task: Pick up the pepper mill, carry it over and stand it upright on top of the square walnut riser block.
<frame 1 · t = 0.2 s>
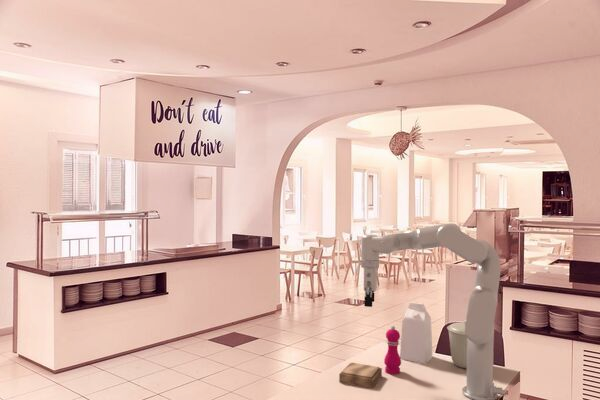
hand: (369, 303, 199), 30 cm above the table, fingers open, 9 cm apart
riser: (360, 379, 195), on the table
pepper mill: (392, 372, 203), on the table
canister: (467, 365, 212), on the table
milk: (416, 358, 222), on the table
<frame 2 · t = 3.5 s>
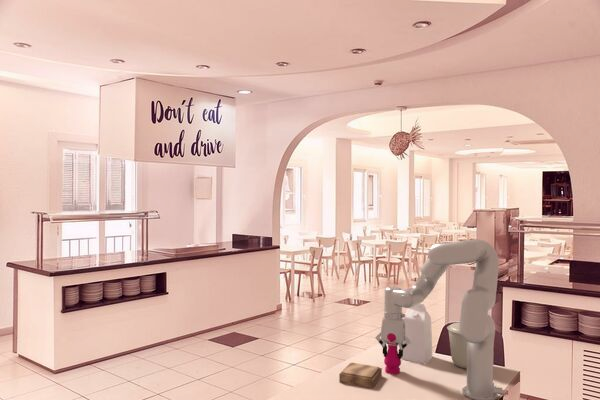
hand: (392, 356, 203), 7 cm above the table, fingers closed on pepper mill, 5 cm apart
pepper mill: (392, 372, 203), on the table, touching gripper
everything else where it was.
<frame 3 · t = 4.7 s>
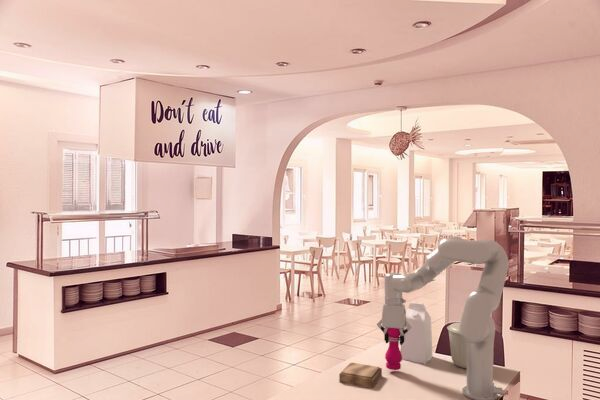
hand: (394, 342, 203), 13 cm above the table, fingers closed on pepper mill, 5 cm apart
pepper mill: (393, 368, 203), point 2 cm above the table, touching gripper
everything else where it was.
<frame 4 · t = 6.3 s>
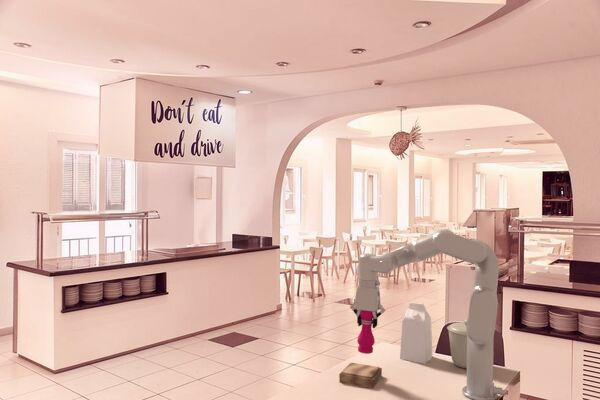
hand: (367, 326, 196), 22 cm above the table, fingers closed on pepper mill, 5 cm apart
pepper mill: (365, 351, 197), point 11 cm above the table, touching gripper
everything else where it was.
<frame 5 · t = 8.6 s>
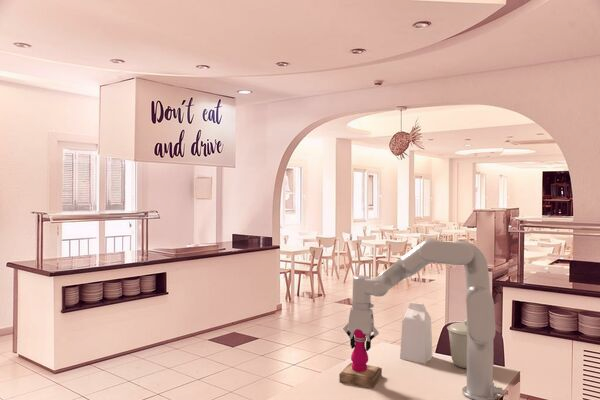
hand: (360, 348, 195), 13 cm above the table, fingers open, 5 cm apart
pepper mill: (359, 369, 195), point 4 cm above the table, touching gripper, riser
everything else where it was.
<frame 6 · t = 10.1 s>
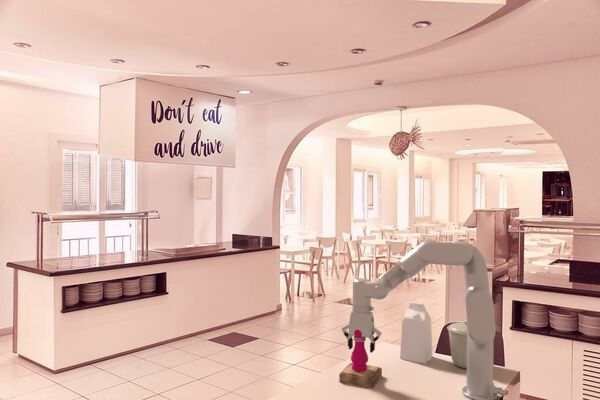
hand: (361, 350, 195), 12 cm above the table, fingers open, 8 cm apart
pepper mill: (359, 369, 195), point 4 cm above the table, touching riser
everything else where it was.
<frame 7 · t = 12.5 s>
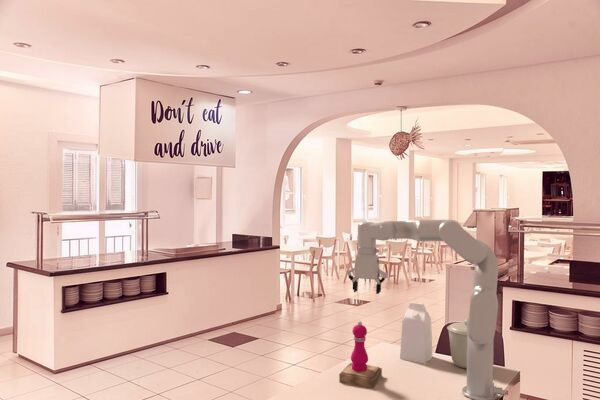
hand: (366, 292, 195), 36 cm above the table, fingers open, 9 cm apart
nothing on the table moved.
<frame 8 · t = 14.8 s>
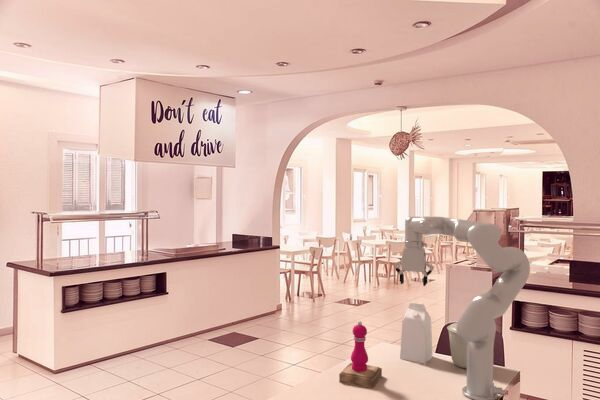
hand: (413, 284, 202), 38 cm above the table, fingers open, 9 cm apart
nothing on the table moved.
at the end: pepper mill inside the target area on the riser (0.9 cm from its centre), point 3.8 cm above the riser's base; pepper mill tilted 0°; pepper mill touching riser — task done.
